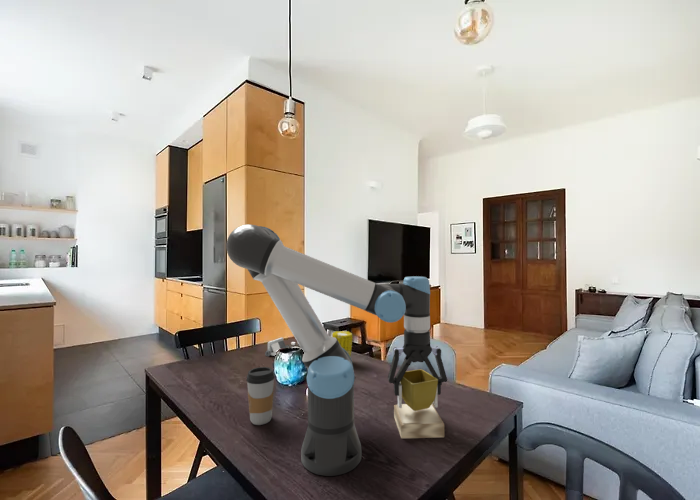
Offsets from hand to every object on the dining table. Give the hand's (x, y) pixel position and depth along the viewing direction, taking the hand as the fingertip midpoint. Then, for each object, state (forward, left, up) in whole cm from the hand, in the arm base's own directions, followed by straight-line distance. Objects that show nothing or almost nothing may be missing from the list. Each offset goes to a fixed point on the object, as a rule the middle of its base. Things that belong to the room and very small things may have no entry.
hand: (417, 405), depth 98 cm
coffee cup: (-47, +6, -6) cm, 48 cm away
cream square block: (0, 0, -6) cm, 6 cm away
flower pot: (0, 0, 0) cm, 0 cm away
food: (-22, +55, -6) cm, 60 cm away
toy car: (-48, +68, -7) cm, 84 cm away
